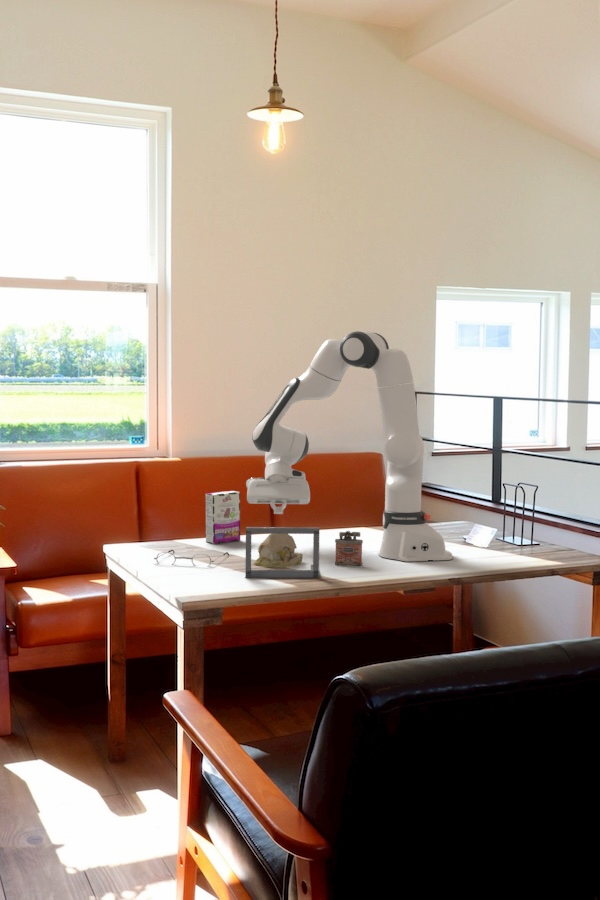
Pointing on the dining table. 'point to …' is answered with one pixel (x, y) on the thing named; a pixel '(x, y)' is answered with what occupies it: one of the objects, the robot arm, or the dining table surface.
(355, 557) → the lighter
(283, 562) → the ceramic model
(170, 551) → the eyeglasses
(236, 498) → the candy bar box
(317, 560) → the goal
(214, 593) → the dining table surface
